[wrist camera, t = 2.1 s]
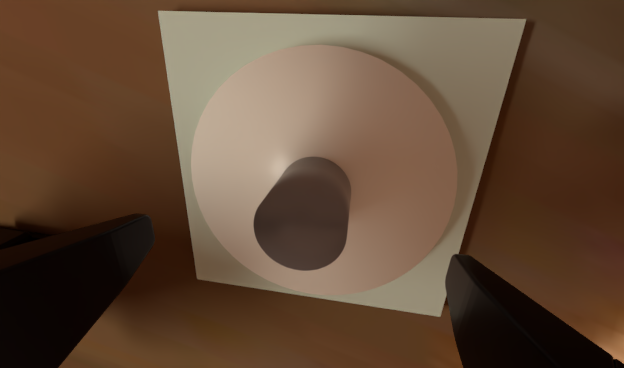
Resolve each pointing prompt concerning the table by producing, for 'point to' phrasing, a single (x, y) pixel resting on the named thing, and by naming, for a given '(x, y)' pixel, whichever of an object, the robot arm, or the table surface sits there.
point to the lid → (324, 170)
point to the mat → (378, 43)
